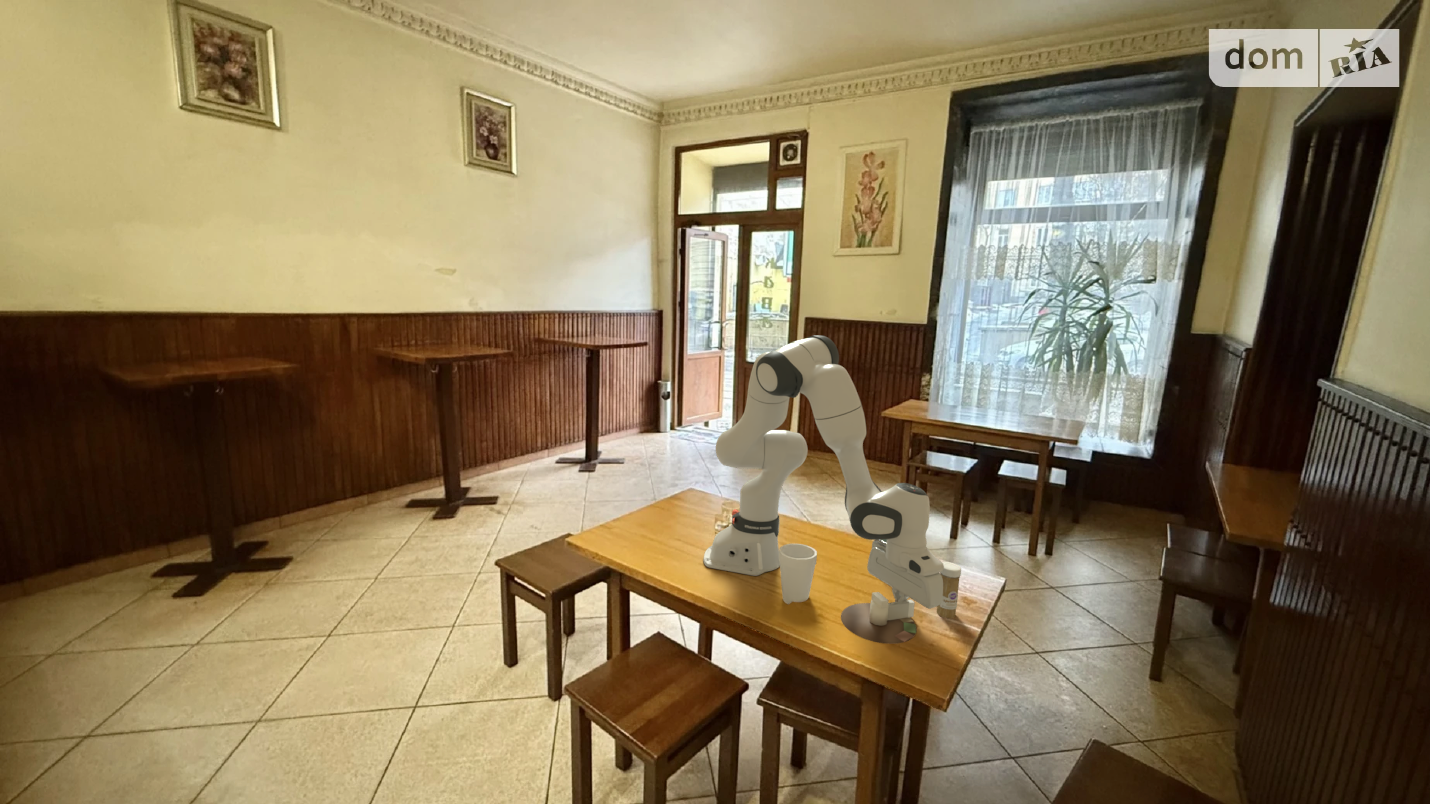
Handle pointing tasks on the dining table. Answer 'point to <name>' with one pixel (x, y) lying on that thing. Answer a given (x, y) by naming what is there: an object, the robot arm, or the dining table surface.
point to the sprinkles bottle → (949, 590)
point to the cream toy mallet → (889, 609)
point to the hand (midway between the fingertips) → (899, 607)
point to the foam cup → (796, 571)
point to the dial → (877, 626)
